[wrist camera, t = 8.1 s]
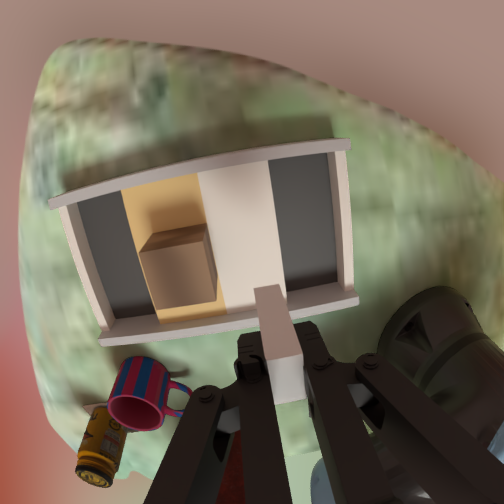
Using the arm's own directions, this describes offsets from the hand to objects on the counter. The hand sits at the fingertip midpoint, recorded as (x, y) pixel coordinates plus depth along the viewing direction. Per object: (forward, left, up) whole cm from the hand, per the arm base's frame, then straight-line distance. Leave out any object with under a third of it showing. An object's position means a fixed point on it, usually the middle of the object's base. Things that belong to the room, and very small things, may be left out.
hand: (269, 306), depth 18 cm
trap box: (+4, -1, -13) cm, 14 cm away
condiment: (+25, +24, -13) cm, 37 cm away
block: (+6, 0, -11) cm, 12 cm away
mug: (+15, +16, -13) cm, 26 cm away
